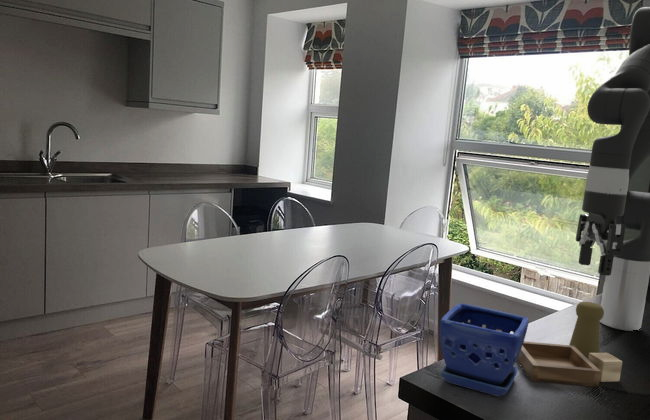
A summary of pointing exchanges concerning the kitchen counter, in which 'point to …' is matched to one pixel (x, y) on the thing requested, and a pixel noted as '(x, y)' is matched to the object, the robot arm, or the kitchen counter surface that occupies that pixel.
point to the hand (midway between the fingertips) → (593, 269)
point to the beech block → (606, 366)
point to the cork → (587, 328)
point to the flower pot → (481, 347)
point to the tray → (557, 364)
